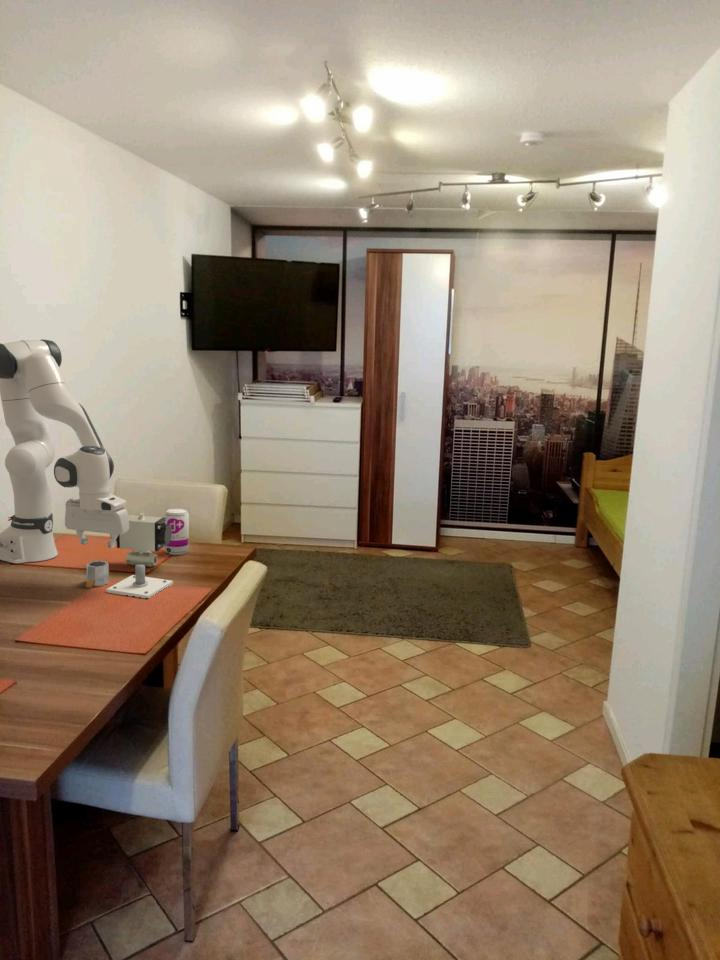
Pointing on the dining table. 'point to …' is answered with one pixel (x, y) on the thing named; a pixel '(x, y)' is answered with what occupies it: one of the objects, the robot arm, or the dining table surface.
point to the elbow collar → (97, 573)
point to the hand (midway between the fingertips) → (97, 545)
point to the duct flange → (139, 584)
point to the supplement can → (178, 531)
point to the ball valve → (144, 539)
